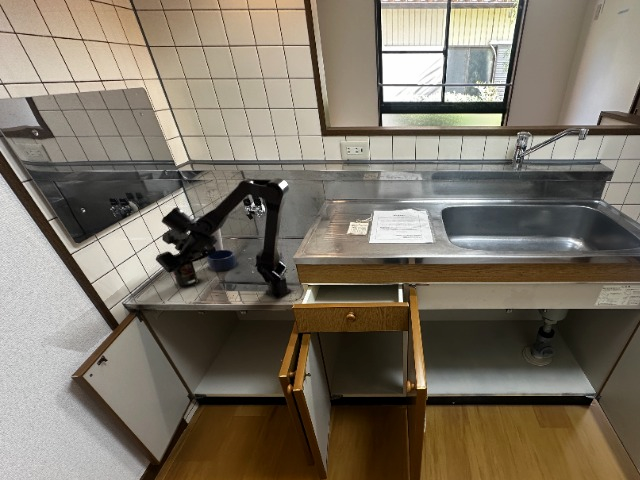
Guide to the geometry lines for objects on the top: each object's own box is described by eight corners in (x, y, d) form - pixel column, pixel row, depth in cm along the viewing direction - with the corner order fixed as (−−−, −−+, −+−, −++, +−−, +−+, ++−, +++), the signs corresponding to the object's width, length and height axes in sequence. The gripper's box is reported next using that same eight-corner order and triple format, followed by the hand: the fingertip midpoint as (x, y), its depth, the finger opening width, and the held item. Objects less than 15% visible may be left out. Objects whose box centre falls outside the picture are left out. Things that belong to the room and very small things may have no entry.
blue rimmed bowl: (241, 265, 133) (238, 254, 130) (218, 273, 125) (215, 261, 123) (227, 258, 137) (224, 247, 134) (204, 266, 130) (201, 255, 127)
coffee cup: (222, 259, 136) (213, 225, 128) (198, 259, 135) (188, 224, 127) (231, 250, 144) (223, 217, 136) (208, 250, 143) (199, 217, 135)
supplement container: (190, 277, 122) (182, 251, 116) (202, 281, 119) (195, 256, 114) (172, 284, 116) (163, 258, 111) (185, 289, 114) (176, 262, 108)
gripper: (201, 215, 112) (185, 239, 121) (149, 231, 97) (136, 258, 105) (224, 240, 114) (207, 262, 123) (177, 260, 99) (162, 284, 108)
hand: (179, 266), depth 115 cm, fingers closed on supplement container, 7 cm apart
